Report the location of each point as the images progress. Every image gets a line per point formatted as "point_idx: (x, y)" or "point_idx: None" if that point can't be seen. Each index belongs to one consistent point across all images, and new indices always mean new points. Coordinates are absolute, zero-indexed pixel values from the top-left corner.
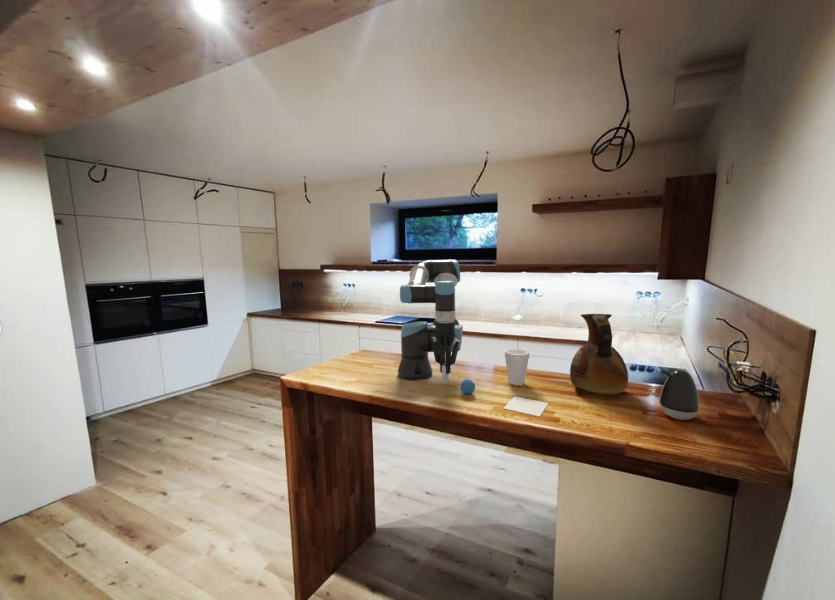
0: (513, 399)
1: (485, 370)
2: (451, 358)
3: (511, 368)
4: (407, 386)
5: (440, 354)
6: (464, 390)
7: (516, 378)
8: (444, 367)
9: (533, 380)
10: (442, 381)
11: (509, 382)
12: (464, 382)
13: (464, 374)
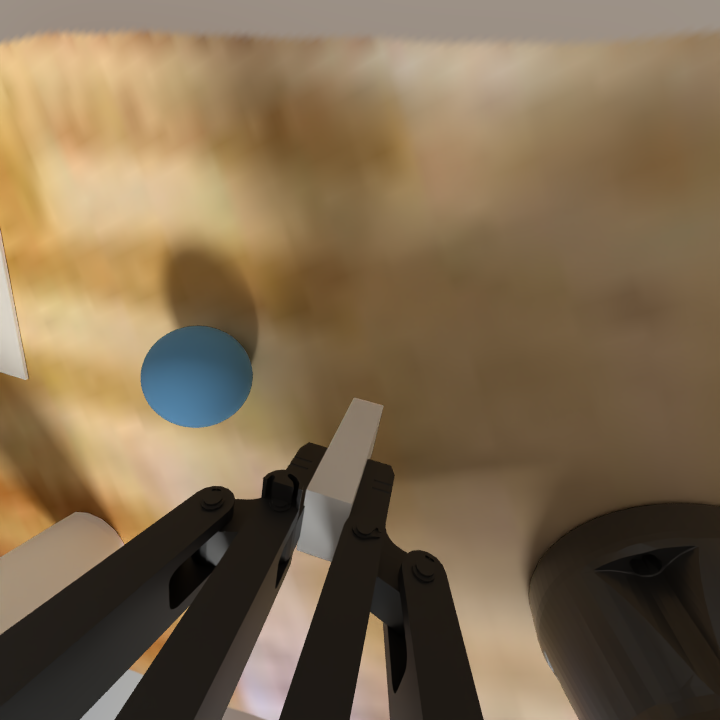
0: (11, 340)
1: (262, 665)
2: (155, 558)
3: (6, 587)
4: (695, 385)
5: (333, 675)
6: (208, 327)
7: (45, 536)
8: (324, 480)
9: None
10: (379, 406)
11: (109, 532)
12: (182, 364)
13: None
